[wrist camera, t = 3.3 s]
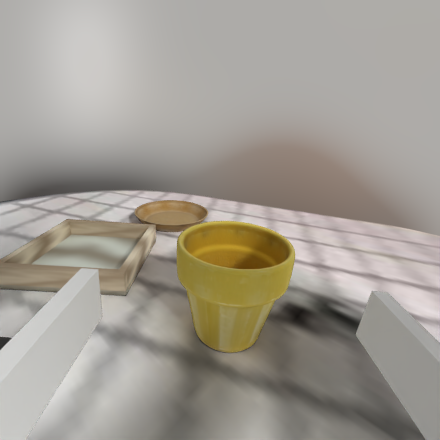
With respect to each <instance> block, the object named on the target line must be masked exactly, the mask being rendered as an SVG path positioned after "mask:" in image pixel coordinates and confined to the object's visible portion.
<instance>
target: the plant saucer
mask: <svg viewBox="0 0 440 440" xmlns="http://www.w3.org/2000/svg"><path fill="white" fill-rule="evenodd" d="M135 215H136V217H137V218H138V219H139V220H140V221H141V222H142V223H143V224H153V225H156V230H157V231H163V232H180V231H184V230H186V229H187V228H189V227H191V226H194V225H197V224H200V223H201V222H202V221H203V220H204V219H205V218H206V217H207V215H208V211H207V209H206V208H204V207H203V206H201V205H198V204H195V203H191V202H186V201H177V200H164V201H155V202H150V203H146V204H143V205H141V206H139V207H138V208H136V209H135Z"/></svg>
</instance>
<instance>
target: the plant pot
mask: <svg viewBox="0 0 440 440" xmlns="http://www.w3.org/2000/svg"><path fill="white" fill-rule="evenodd" d="M294 260H295V251H294V248H293V246H292V244H291V243H290V242H289V241H288V240H287V239H286V238H285V237H283V236H282V235H280V234H279V233H277V232H275V231H273V230H270V229H268V228H265V227H261V226H258V225H254V224H250V223H244V222H236V221H213V222H205V223H201V224H197V225H194V226H191V227H189V228H187V229H186V230H184V231H183V232H182V233H181V234H180V236H179V237H178V240H177V273H178V278H179V280H180V282H181V284H182V285H183V286H184V287H185V289H186V290H187V295H188V299H189V304H190V308H191V313H192V318H193V323H194V327H195V331H196V333H197V335H198V337H199V338H200V339H201V341H202V342H203V343H205V344H206V345H207V346H209V347H210V348H212V349H215V350H217V351H221V352H227V353H233V352H239V351H243V350H245V349H247V348H249V347H251V346H252V345H253V344H254V343H255V342H256V340H257V339H258V336H259V334H260V332H261V330H262V328H263V325H264V323H265V321H266V319H267V317H268V315H269V313H270V310H271V308H272V306H273V304H274V302H275V300H277V299H279V298H280V297H281V296H282V295H283V294H284V293H285V292H286V290H287V288H288V285H289V282H290V278H291V274H292V270H293V265H294Z"/></svg>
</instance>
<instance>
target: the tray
mask: <svg viewBox="0 0 440 440" xmlns="http://www.w3.org/2000/svg"><path fill="white" fill-rule="evenodd" d="M155 242H156V225H153V224H137V223H121V222H105V221H89V220H73V219H66V220H65V221H63V222H62V223H60V224H58V225H57V226H55V227H53V228H52V229H50V230H48V231H47V232H45V233H43V234H42V235H40V236H39V237H37V238H35V239H34V240H32V241H30V242H29V243H27V244H25V245H24V246H22V247H20V248H19V249H17V250H15V251H14V252H12V253H11V254H9V255H7V256H6V257H4V258H2V259H1V260H0V289H12V290H30V291H49V292H58V291H59V290H60V289H61V288H62V287H63V286H64V285H65V284H66V283H67V282H68V281H69V280H70V279H71V278H72V277H73V276H74V275H75V274H76V273H77V272H78V271H79V270H80V269H81V268H87V269H98V273H99V284H100V294H104V295H122V296H126V294H127V292H128V291H129V289H130V287H131V285H132V283H133V282H134V280H135V278H136V276H137V274H138V272H139V271H140V269H141V267H142V265H143V263H144V262H145V260H146V258H147V256H148V254H149V253H150V251H151V249H152V247H153V245H154V243H155Z"/></svg>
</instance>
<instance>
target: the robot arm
mask: <svg viewBox="0 0 440 440" xmlns="http://www.w3.org/2000/svg"><path fill="white" fill-rule="evenodd" d="M101 318H102V307H101V295H100V284H99V273H98V269H87V268H81V269H80V270H79V271H78V272H77V273H76V274H75V275H74V276H73V277H72V278H71V279H70V280H69V281H68V282H67V283H66V284H65V285H64V286H63V287H62V288H61V289H60V290H59V291H58V292H57V293H56V294H55V295H54V296H53V297H52V298H51V299H50V300H49V301H48V302H47V303H46V304H45V305H44V306H43V307H42V308H41V309H40V310H39V311H38V312H37V313H36V314H35V315H34V316H33V317H32V319H31V320H30V321H29V322H28V323H27V324H26V325H25V326H24V327H23V328H22V329H21V330H20V331H19V332H18V333H17V334H16V335H15V336H14V337H13V338H8V337H0V440H26V439H27V437H28V435H29V434H30V432H31V431H32V429H33V427H34V426H35V424H36V423H37V421H38V419H39V418H40V416H41V414H42V413H43V411H44V410H45V408H46V406H47V405H48V403H49V402H50V400H51V398H52V397H53V395H54V394H55V392H56V390H57V389H58V387H59V386H60V384H61V382H62V381H63V379H64V377H65V376H66V374H67V373H68V371H69V369H70V368H71V366H72V365H73V363H74V361H75V360H76V358H77V357H78V355H79V353H80V352H81V350H82V349H83V347H84V345H85V344H86V342H87V340H88V339H89V337H90V336H91V334H92V332H93V331H94V329H95V328H96V326H97V324H98V323H99V321H100V320H101ZM356 336H357V338H358V339H359V341H360V342H361V344H362V345H363V347H364V348H365V350H366V351H367V353H368V354H369V356H370V357H371V359H372V360H373V362H374V363H375V365H376V366H377V368H378V369H379V371H380V372H381V374H382V375H383V377H384V378H385V380H386V381H387V383H388V384H389V386H390V387H391V389H392V390H393V392H394V393H395V394H396V396H397V397H398V399H399V400H400V402H401V403H402V405H403V406H404V408H405V409H406V411H407V412H408V414H409V415H410V417H411V418H412V420H413V421H414V423H415V424H416V426H417V427H418V429H419V430H420V432H421V433H422V435H423V436H424V438H425V439H426V440H440V343H439V342H438V341H437V340H436V339H435V338H434V337H433V336H432V335H431V334H430V333H429V332H428V331H427V330H426V329H425V328H424V327H423V326H422V325H421V324H420V323H419V322H417V321H416V320H415V319H414V318H413V317H412V316H411V315H410V314H409V313H408V312H407V311H406V310H405V309H404V308H403V307H402V306H401V305H400V304H399V303H398V302H397V301H396V300H395V299H394V298H393V297H392V296H391V295H390V294H388V293H387V292H378V291H372V292H371V295H370V297H369V300H368V303H367V305H366V308H365V311H364V313H363V316H362V319H361V321H360V324H359V327H358V329H357V332H356Z"/></svg>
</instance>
